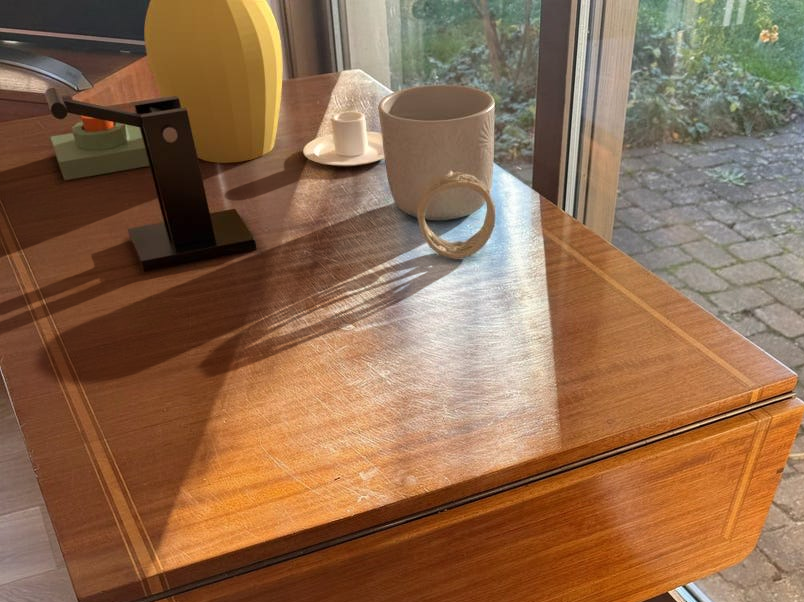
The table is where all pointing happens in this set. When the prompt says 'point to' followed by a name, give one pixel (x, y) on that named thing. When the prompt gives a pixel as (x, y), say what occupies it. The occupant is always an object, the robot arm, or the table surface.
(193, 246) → the bracket
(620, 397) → the table surface
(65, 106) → the lever
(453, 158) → the planter
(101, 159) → the control block
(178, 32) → the vase
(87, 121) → the button
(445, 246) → the bracelet
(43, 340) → the table surface
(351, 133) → the candle holder
